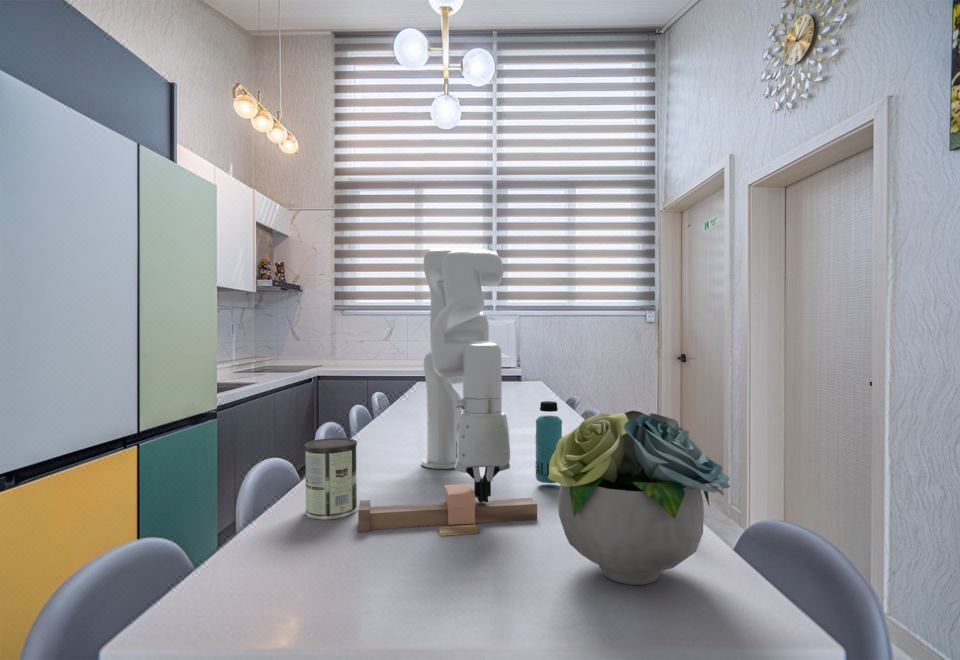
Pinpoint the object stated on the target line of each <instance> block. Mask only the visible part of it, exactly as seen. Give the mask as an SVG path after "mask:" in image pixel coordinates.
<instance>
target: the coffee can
mask: <svg viewBox="0 0 960 660" xmlns="http://www.w3.org/2000/svg"><path fill="white" fill-rule="evenodd" d="M357 443H358V441H357V440H356V439H353V438H349V437H329V438H320V439H315V440H314V439H313V440H310V441H308V442H306V443H305V444H304V449H305V451H304V452H305V454H304V456H305V458H304V459H305V461H304V462H305V516H307V517H308V518H310V519H314V520H322V521H323V520H325V521H326V520H335V519H342V518H346V517H350V516H351V515H353V514H355V513H356V512H358V507H357V506H358V505H357V504H358V502H357V497H358V496H357V495H358V492H357V491H358V489H357V445H358V444H357Z"/></svg>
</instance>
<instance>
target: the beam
mask: <svg viewBox="0 0 960 660" xmlns="http://www.w3.org/2000/svg"><path fill="white" fill-rule="evenodd" d="M357 512H358V513H357V515H358V518H357V519H358V520H357V521H358V524H357V525H358V529H357V531H358V533H366V532H370V530H383V529H384V530H385V529H400V528H401V529H402V527H403V528H414V527H415V528H417V527H418V526H420V527H431V526H432V527H434V526H433V525H436V526H438V533H439V536H440V537H445V536H446V535H447V536H460V535H462V536H463V535H476V534H479V531H480V530H479V528H478V526H477V524H480V523H484V524H485V523H498V522H499V523H501V522H514V521H534V520H538V503H537V502H536V501H535V499H533V497H524V498H523V497H522V498H520V497H519V498H505V499H488V502H484V501H483V502H482V503H480V502H479V500H475V523H474V524H459V525H448V507H447V504H446V503H445V502H432V503H431V502H429V503H415V504H413V503H412V504H411V503H410V504H395V505H394V504H392V505H375V506H371V499H362V500H359V504H358V508H357ZM428 525H429V526H428Z"/></svg>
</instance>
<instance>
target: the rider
mask: <svg viewBox="0 0 960 660" xmlns="http://www.w3.org/2000/svg"><path fill="white" fill-rule="evenodd" d="M475 501H476V497H475V493H474V488H473V487H472V486H471V484H470V483H460V484H458V483H456V484H444V503H446V504H447V507H448V525H447V526H458V525H474V524H476V523H475Z"/></svg>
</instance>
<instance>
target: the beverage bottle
mask: <svg viewBox="0 0 960 660" xmlns="http://www.w3.org/2000/svg"><path fill="white" fill-rule="evenodd" d="M539 411H540V412H547V413H548V412H552V413H553V412H558V411H559V408H558V402H556V401H550V400H549V401H548V400H545V401H540V407H539ZM562 427H563V420H562V419H561V418H560V417H559V416H558V415H555V414H542V415H539V416H538V417H537V418H536V419H535V439H534V441H535V451H534V452H535V478H536V481H538V482H540V483H543V484H556V483H557V482H554V481H552V480H550V479H549V478H548V476H549V463H550V460H551V457H552V455H553V454H554V452H555V450H556V447H557V443H558V441H559V439H561V438H562V437H563V430H562V429H563V428H562ZM557 484H558V483H557Z"/></svg>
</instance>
